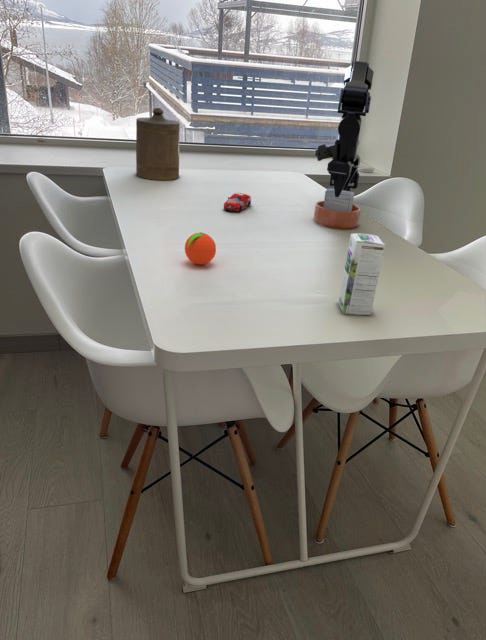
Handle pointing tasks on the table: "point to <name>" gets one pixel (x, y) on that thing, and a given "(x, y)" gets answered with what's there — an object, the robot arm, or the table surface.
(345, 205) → the medicine box
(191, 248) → the clementine
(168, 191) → the table surface
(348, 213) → the bowl
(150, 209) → the table surface
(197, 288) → the table surface
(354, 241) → the syrup box
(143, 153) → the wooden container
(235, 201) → the race car
